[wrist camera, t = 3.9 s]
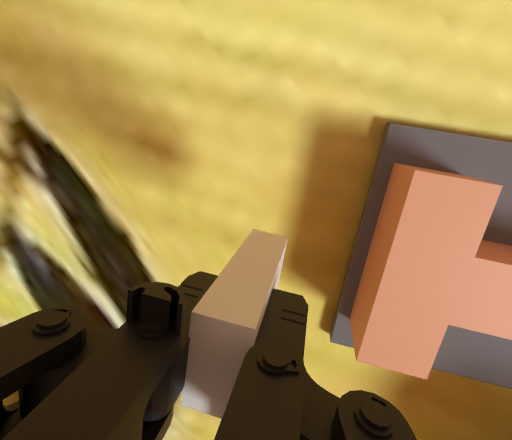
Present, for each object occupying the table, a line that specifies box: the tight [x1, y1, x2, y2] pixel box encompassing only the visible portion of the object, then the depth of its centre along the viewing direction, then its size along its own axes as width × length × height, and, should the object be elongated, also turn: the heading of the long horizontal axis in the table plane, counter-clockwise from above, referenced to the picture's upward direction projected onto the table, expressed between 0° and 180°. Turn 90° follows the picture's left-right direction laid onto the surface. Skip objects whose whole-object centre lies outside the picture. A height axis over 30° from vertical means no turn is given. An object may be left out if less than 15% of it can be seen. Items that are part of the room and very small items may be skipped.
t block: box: [349, 163, 512, 380], centre depth 16 cm, size 10×10×4 cm
